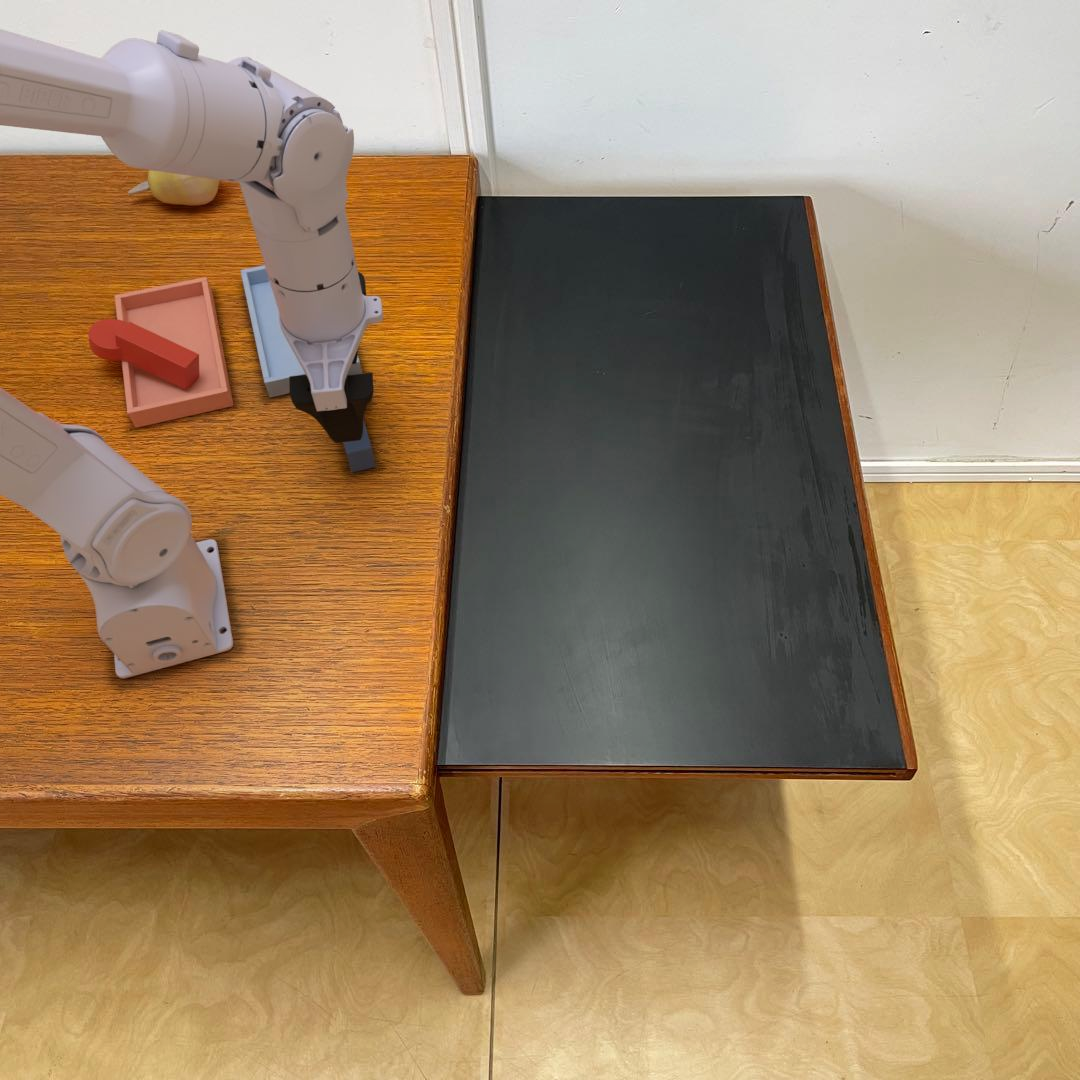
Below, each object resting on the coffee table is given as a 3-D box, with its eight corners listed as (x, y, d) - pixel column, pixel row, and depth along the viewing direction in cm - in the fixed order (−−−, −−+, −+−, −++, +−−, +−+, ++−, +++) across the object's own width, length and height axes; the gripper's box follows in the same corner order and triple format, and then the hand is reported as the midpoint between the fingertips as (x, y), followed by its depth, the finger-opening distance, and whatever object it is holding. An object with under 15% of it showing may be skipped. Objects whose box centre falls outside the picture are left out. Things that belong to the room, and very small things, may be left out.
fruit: (133, 183, 92) (229, 154, 92) (145, 234, 90) (243, 205, 91) (103, 146, 86) (206, 115, 86) (116, 200, 85) (220, 168, 85)
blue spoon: (385, 464, 74) (381, 445, 72) (341, 475, 73) (336, 456, 71) (362, 381, 78) (357, 360, 76) (320, 391, 78) (314, 370, 76)
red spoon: (205, 370, 78) (204, 348, 76) (181, 396, 76) (180, 373, 74) (107, 324, 78) (104, 301, 76) (80, 348, 76) (76, 325, 74)
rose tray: (233, 406, 77) (227, 391, 75) (135, 428, 75) (127, 413, 74) (212, 292, 84) (206, 276, 82) (122, 310, 82) (114, 294, 81)
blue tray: (363, 377, 79) (359, 361, 77) (269, 398, 77) (264, 382, 76) (331, 268, 86) (328, 252, 84) (245, 285, 84) (240, 269, 83)
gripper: (379, 336, 56) (404, 468, 67) (366, 183, 63) (390, 325, 75) (262, 348, 55) (307, 479, 67) (262, 192, 63) (303, 334, 74)
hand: (345, 398), depth 71 cm, fingers open, 7 cm apart
